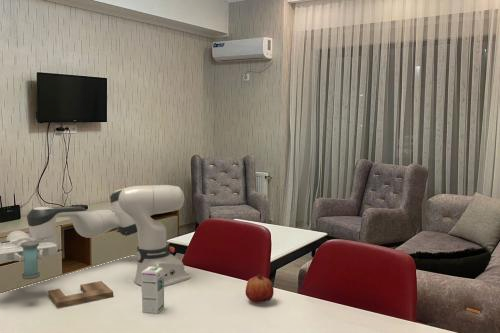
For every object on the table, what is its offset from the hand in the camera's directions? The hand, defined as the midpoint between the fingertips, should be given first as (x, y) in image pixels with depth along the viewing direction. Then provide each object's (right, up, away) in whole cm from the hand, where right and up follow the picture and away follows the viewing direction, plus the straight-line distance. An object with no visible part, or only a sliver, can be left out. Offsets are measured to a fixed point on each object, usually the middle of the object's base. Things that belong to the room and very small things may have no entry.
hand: (30, 257), depth 162 cm
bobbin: (-1, -7, +1) cm, 7 cm away
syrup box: (+42, -18, -1) cm, 46 cm away
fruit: (+79, -18, +8) cm, 81 cm away
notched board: (+14, -16, +10) cm, 23 cm away
